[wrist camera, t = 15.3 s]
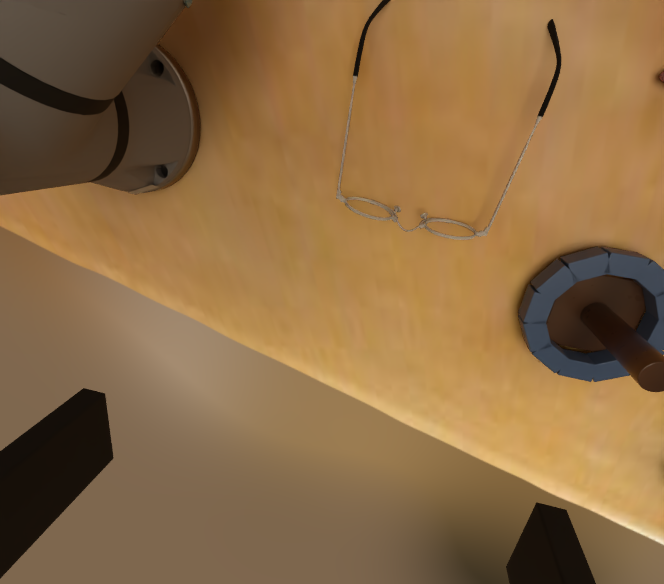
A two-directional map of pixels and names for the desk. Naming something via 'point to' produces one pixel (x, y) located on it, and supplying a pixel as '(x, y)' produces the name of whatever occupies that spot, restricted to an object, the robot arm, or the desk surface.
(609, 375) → the dark blue segmented ring
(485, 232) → the eyeglasses
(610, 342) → the stand
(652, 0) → the desk surface
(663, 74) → the video game controller
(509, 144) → the desk surface
